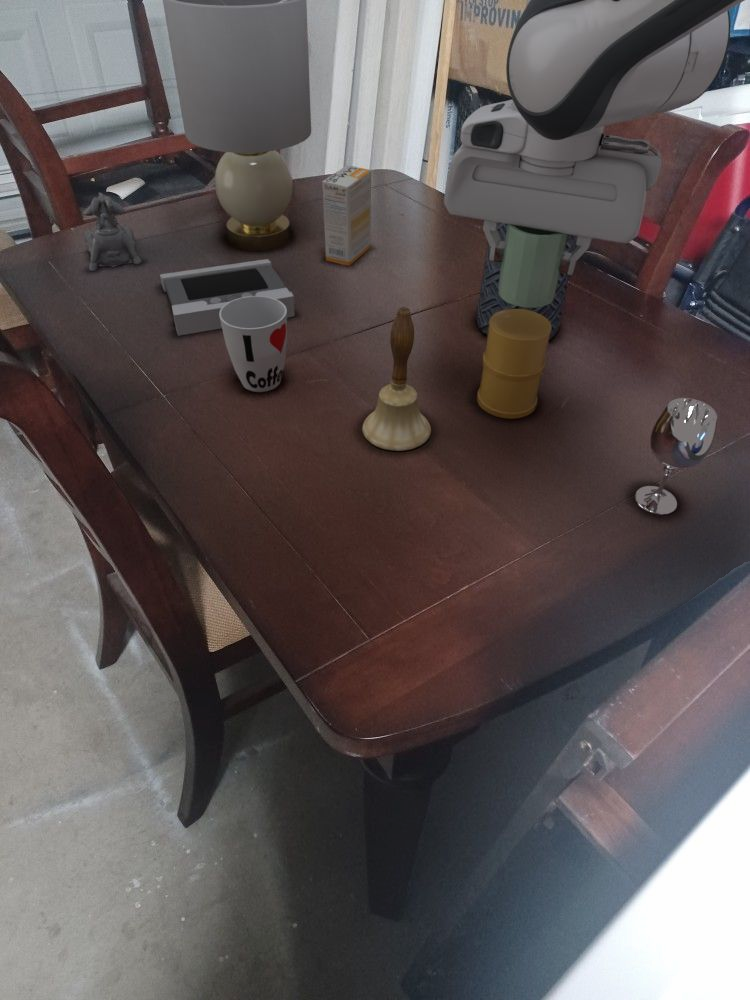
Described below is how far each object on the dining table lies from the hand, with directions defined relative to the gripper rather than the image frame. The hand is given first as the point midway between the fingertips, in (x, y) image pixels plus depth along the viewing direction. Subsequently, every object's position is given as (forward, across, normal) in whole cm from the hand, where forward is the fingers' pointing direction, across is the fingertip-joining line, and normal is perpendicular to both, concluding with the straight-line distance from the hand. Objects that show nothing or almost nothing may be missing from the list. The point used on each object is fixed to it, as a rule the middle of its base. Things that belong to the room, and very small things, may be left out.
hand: (530, 265), depth 76 cm
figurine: (+18, +71, -15) cm, 75 cm away
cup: (+18, +31, +8) cm, 37 cm away
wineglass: (+18, -20, +12) cm, 29 cm away
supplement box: (+18, +35, -31) cm, 50 cm away
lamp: (+18, +52, -31) cm, 63 cm away
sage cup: (+3, 0, 0) cm, 3 cm away
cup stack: (+18, 0, 0) cm, 18 cm away
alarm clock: (+18, +46, -9) cm, 50 cm away
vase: (+18, +3, -19) cm, 27 cm away
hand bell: (+18, +11, +11) cm, 24 cm away
